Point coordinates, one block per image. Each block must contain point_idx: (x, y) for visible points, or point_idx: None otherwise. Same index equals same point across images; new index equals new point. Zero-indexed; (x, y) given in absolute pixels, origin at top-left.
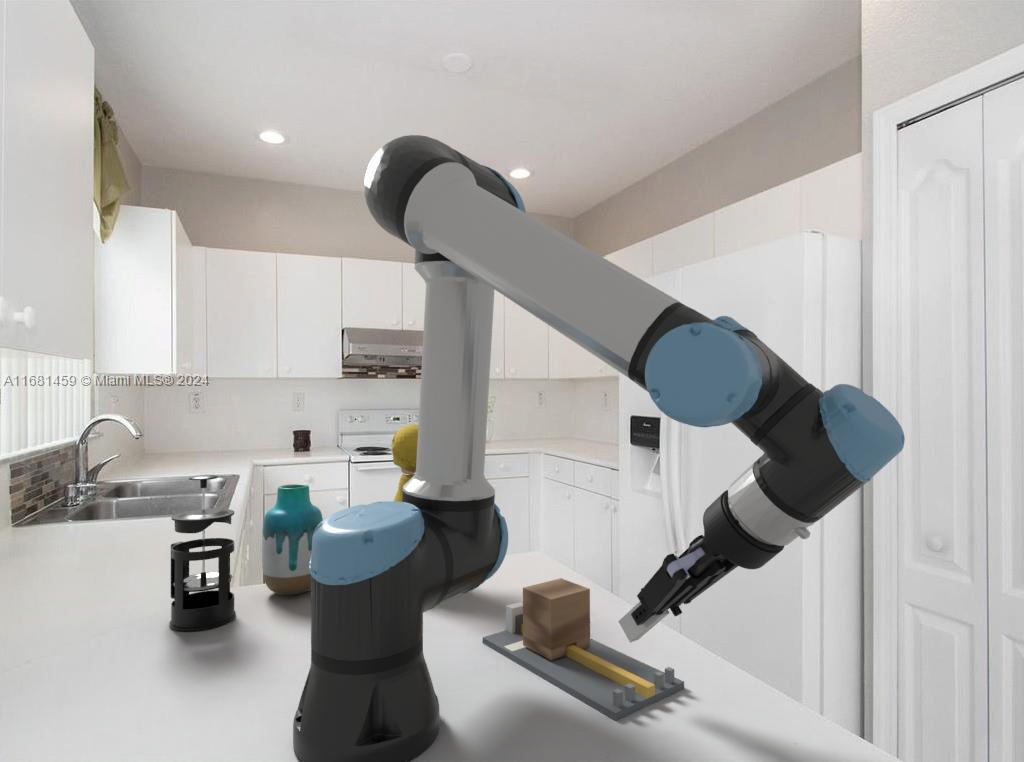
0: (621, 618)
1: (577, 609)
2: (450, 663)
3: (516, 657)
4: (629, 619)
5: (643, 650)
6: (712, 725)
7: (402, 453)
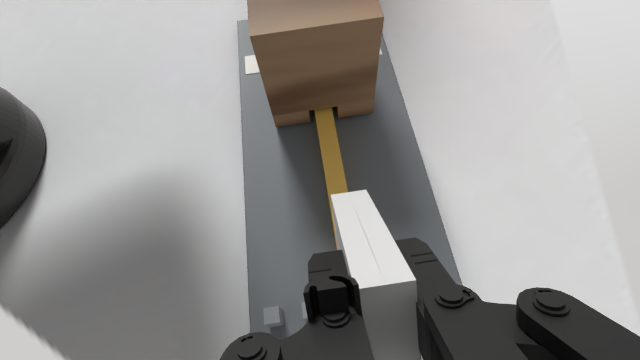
0: (332, 201)
1: (339, 57)
2: (159, 63)
3: (240, 91)
4: (337, 229)
5: (479, 146)
6: None
7: None
